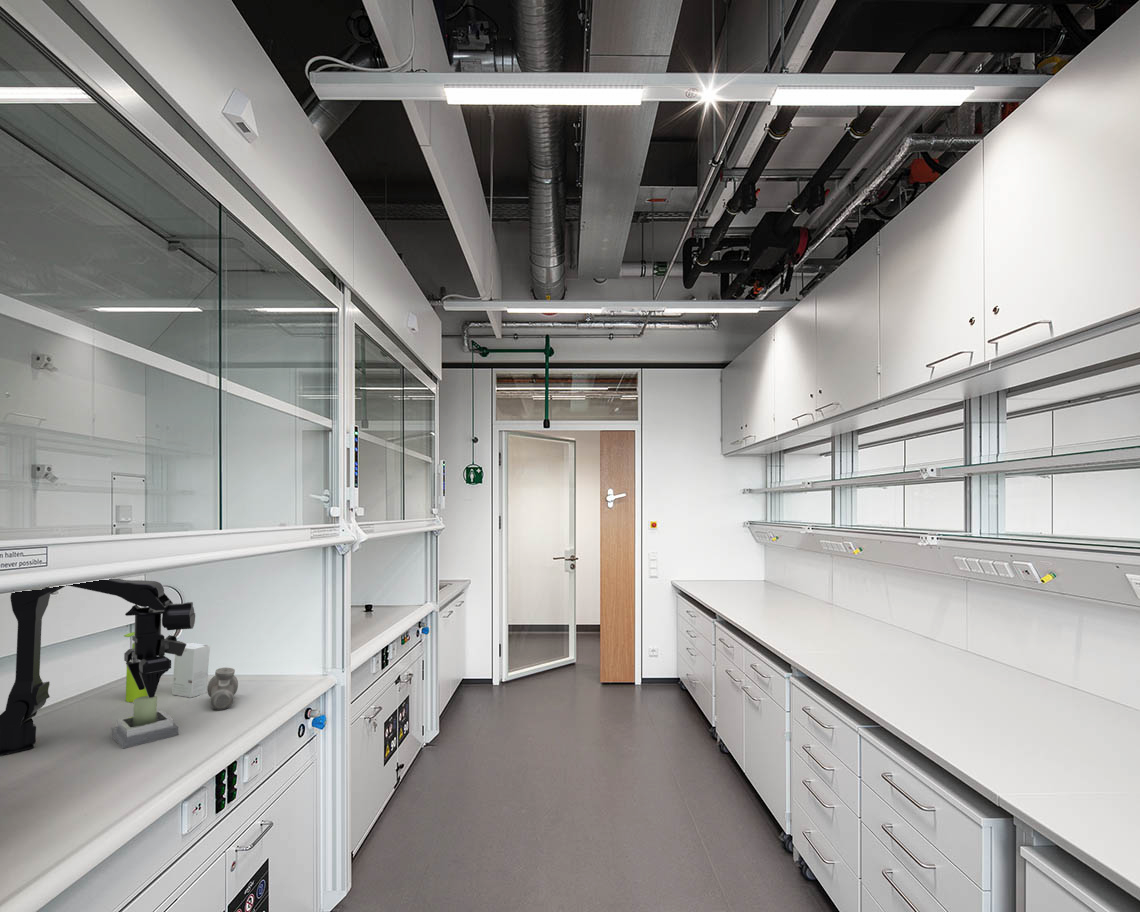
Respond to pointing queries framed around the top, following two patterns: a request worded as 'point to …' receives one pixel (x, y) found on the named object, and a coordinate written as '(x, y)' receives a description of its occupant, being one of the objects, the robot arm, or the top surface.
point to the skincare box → (191, 671)
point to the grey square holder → (143, 730)
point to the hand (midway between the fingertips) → (146, 693)
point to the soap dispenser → (132, 683)
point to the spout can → (144, 710)
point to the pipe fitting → (222, 688)
